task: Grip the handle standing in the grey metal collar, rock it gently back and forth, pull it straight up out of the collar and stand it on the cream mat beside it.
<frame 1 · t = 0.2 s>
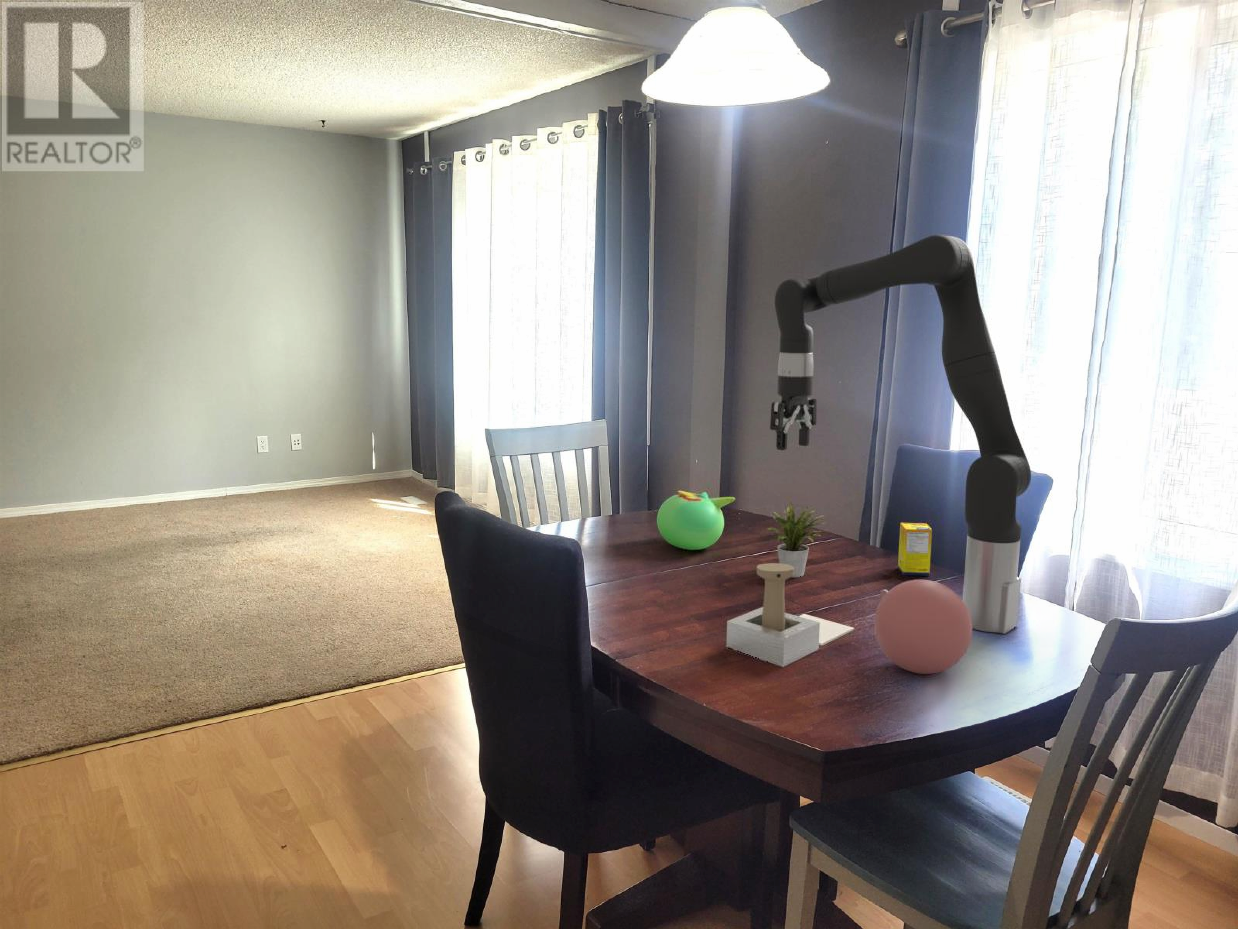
hand: (792, 447, 196), 29 cm above the table, tool pointing down, fingers open, 8 cm apart
handle: (772, 649, 159), resting in collar
toy bird: (691, 548, 224), on the table
house plant: (791, 576, 201), on the table
balloon: (912, 665, 152), on the table
collar: (772, 648, 159), on the table
mat: (812, 630, 168), on the table
supplement box: (913, 573, 204), on the table
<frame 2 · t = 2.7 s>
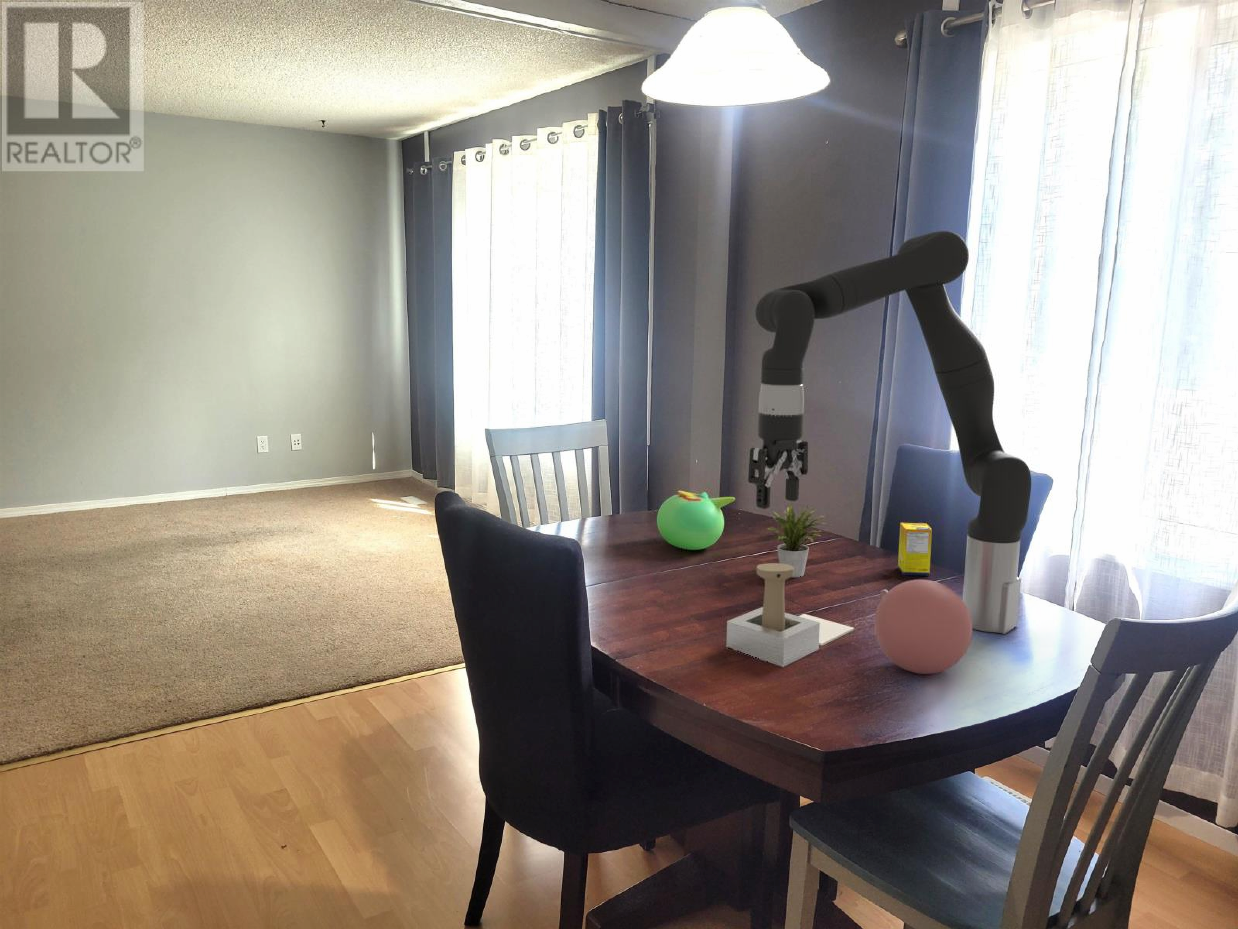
hand: (777, 504, 154), 26 cm above the table, tool pointing down, fingers open, 8 cm apart
nothing on the table moved.
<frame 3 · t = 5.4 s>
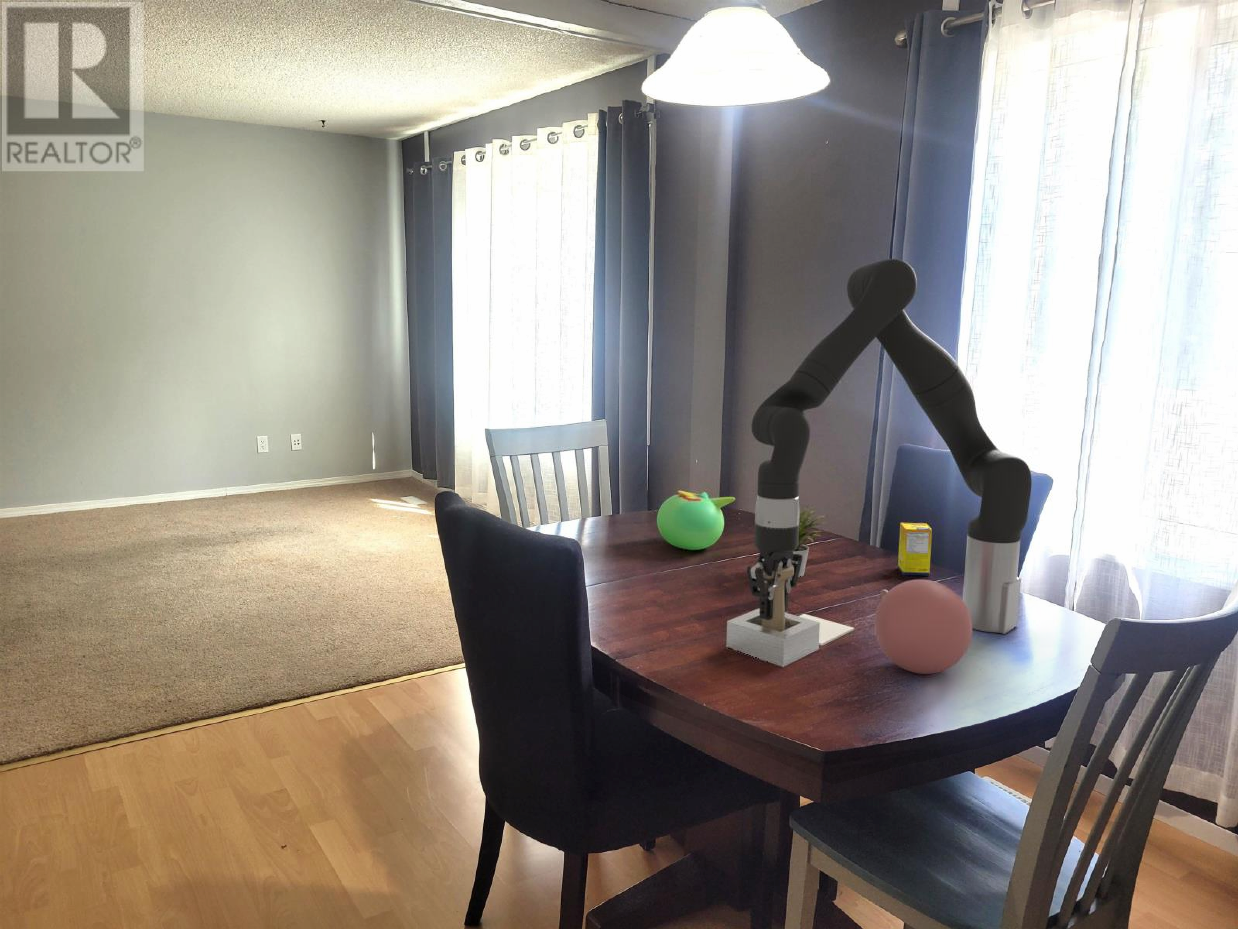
hand: (773, 615, 158), 6 cm above the table, tool pointing down, fingers closed on handle, 4 cm apart
handle: (772, 649, 159), resting in collar, touching gripper
everything else where it was.
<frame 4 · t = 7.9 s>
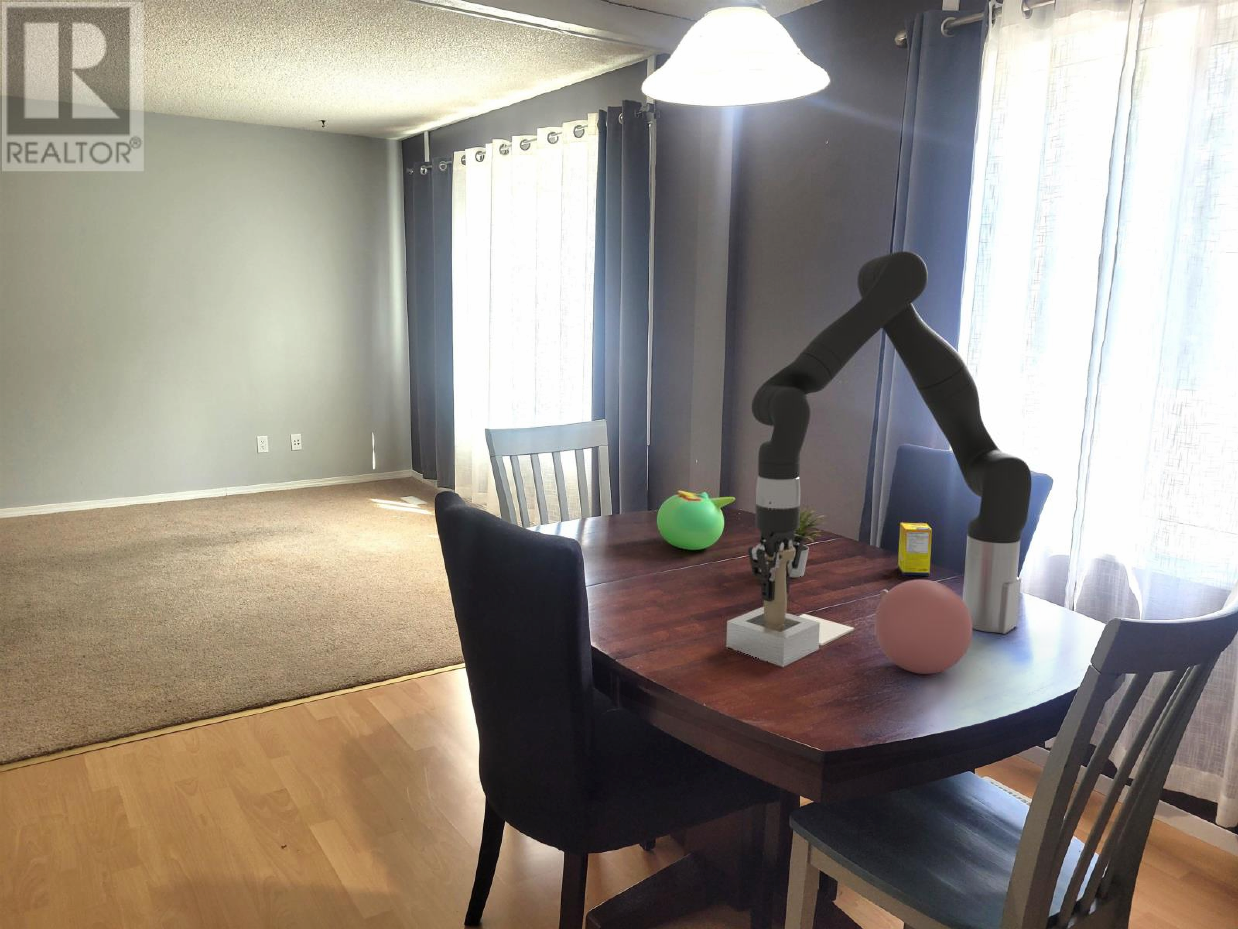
hand: (775, 596, 157), 10 cm above the table, tool pointing down, fingers closed on handle, 4 cm apart
handle: (774, 631, 158), point 3 cm above the table, touching gripper
everything else where it was.
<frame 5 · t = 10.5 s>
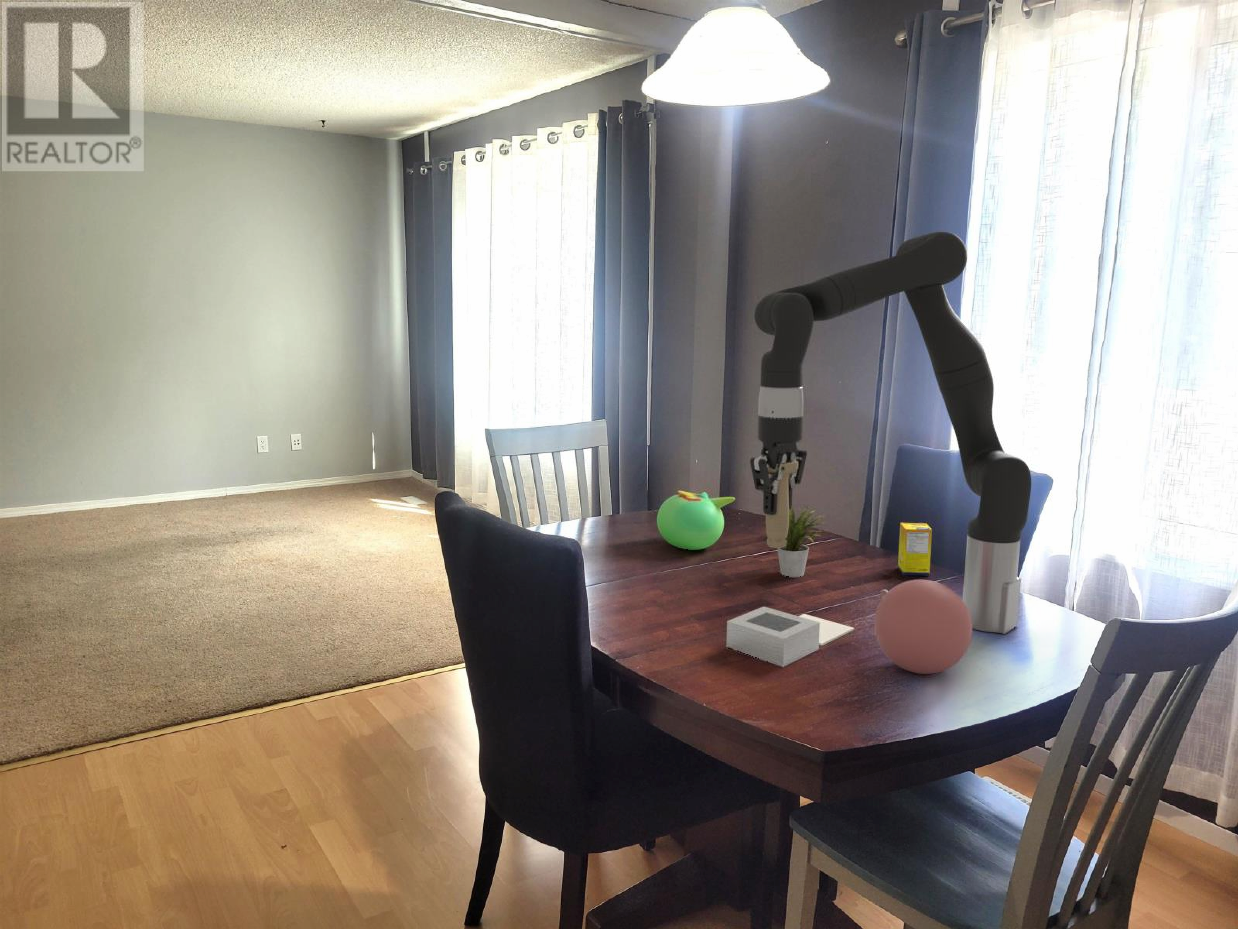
hand: (777, 511, 154), 25 cm above the table, tool pointing down, fingers closed on handle, 4 cm apart
handle: (776, 547, 155), point 19 cm above the table, touching gripper
everything else where it was.
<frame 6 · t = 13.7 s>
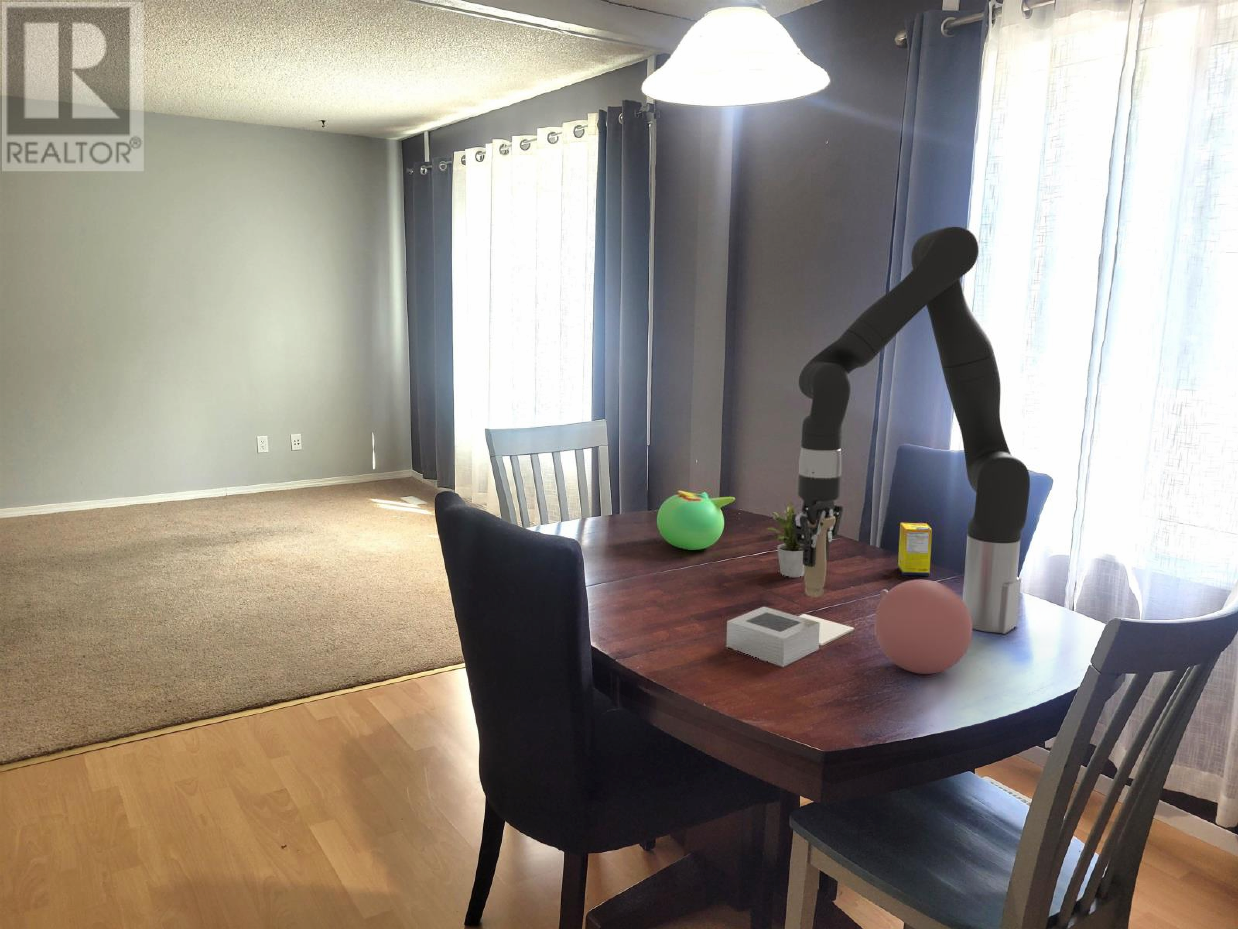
hand: (815, 562, 166), 13 cm above the table, tool pointing down, fingers closed on handle, 4 cm apart
handle: (813, 596, 167), point 7 cm above the table, touching gripper
everything else where it was.
when the fingers open (8 cm above the table, at t = 15.5 s): handle drops 1 cm, resting on mat.
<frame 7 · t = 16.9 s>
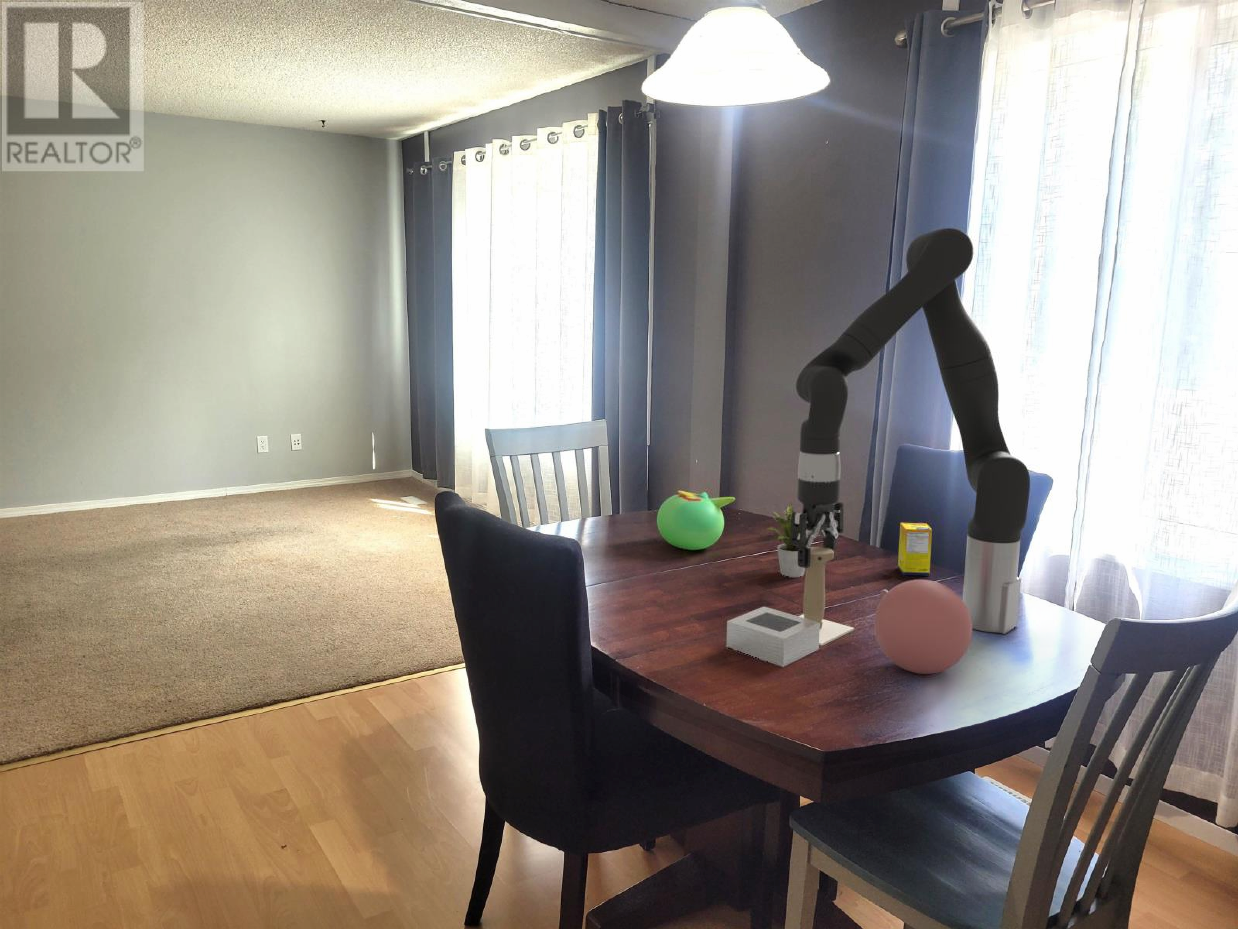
hand: (816, 562, 165), 13 cm above the table, tool pointing down, fingers open, 8 cm apart
handle: (813, 628, 168), resting on mat
everything else where it was.
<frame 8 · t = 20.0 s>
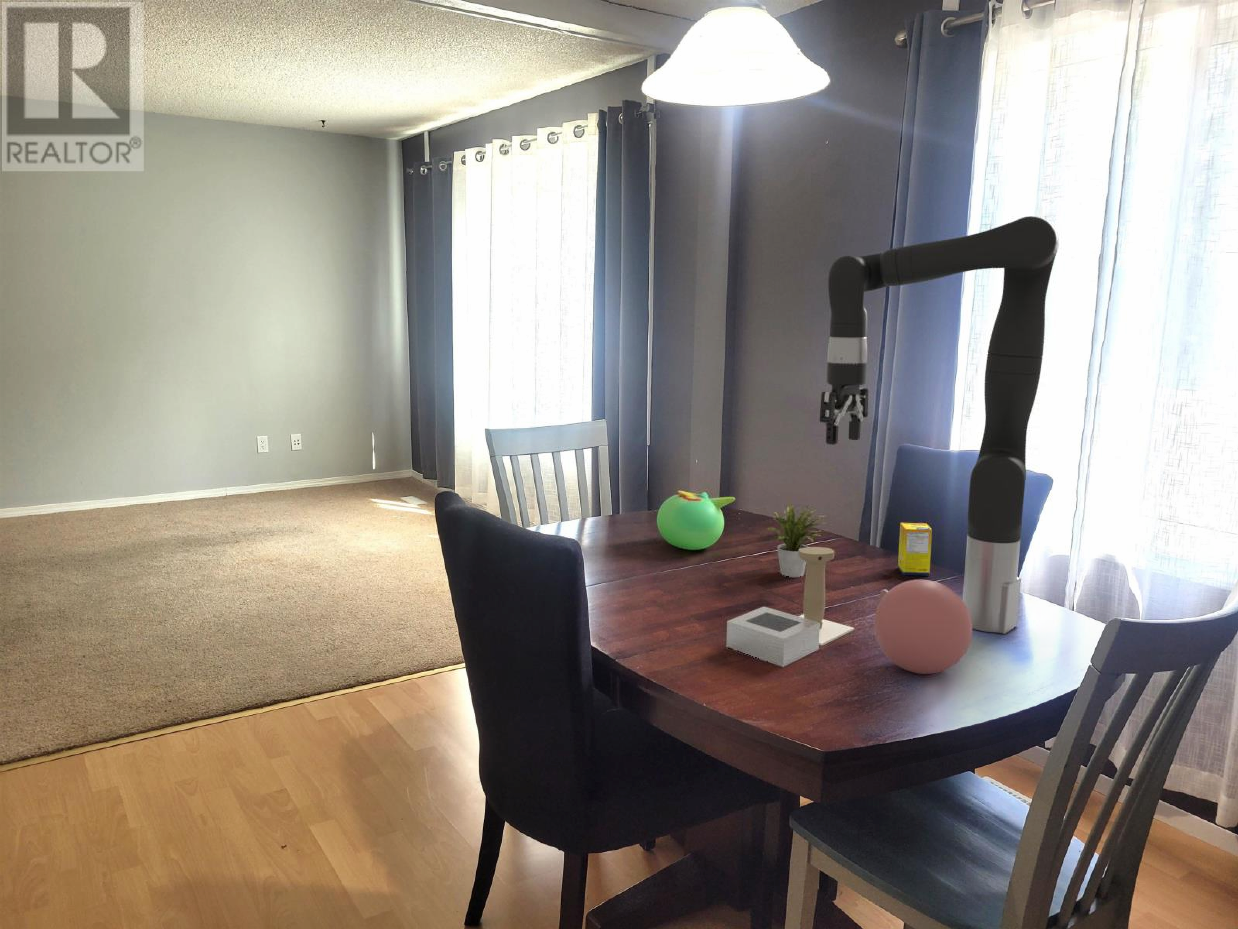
hand: (843, 441, 179), 33 cm above the table, tool pointing down, fingers open, 8 cm apart
nothing on the table moved.
at the end: handle inside the target area on the mat (0.0 cm from its centre), point 0.2 cm above the mat's base; handle tilted 0°; handle touching mat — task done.
